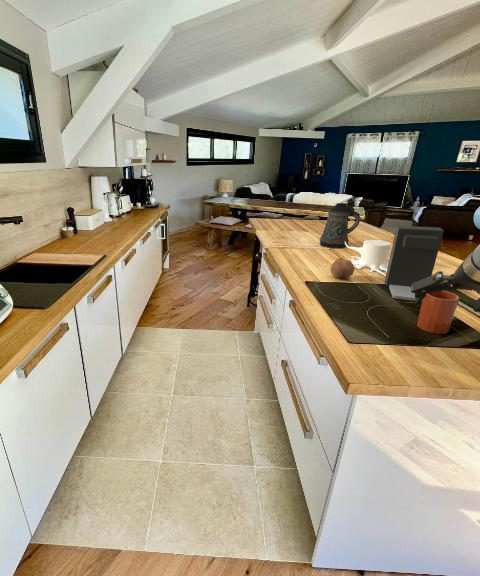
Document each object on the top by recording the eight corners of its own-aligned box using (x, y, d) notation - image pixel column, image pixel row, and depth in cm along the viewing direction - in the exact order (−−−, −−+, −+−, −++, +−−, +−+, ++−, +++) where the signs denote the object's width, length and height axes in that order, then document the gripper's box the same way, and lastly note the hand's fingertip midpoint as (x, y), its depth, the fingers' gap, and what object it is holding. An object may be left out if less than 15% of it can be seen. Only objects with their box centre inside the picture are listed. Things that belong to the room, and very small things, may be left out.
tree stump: (332, 265, 155) (335, 243, 151) (352, 253, 173) (356, 233, 169) (395, 278, 137) (401, 252, 133) (411, 263, 155) (416, 240, 151)
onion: (332, 281, 143) (329, 260, 144) (355, 278, 139) (351, 256, 140) (331, 281, 134) (328, 258, 135) (356, 277, 130) (352, 254, 131)
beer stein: (315, 242, 200) (320, 202, 191) (346, 241, 199) (352, 201, 190) (324, 248, 185) (330, 205, 176) (358, 248, 184) (365, 204, 175)
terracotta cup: (444, 323, 98) (454, 291, 94) (452, 336, 92) (463, 301, 88) (414, 319, 101) (422, 288, 97) (419, 331, 95) (428, 297, 91)
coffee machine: (423, 286, 127) (439, 227, 119) (434, 303, 112) (453, 237, 103) (384, 282, 133) (396, 225, 124) (389, 297, 118) (404, 234, 109)
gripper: (416, 277, 74) (393, 309, 92) (559, 291, 65) (502, 323, 83) (417, 250, 77) (394, 286, 95) (555, 259, 67) (501, 297, 85)
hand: (445, 303), depth 89 cm, fingers open, 13 cm apart
